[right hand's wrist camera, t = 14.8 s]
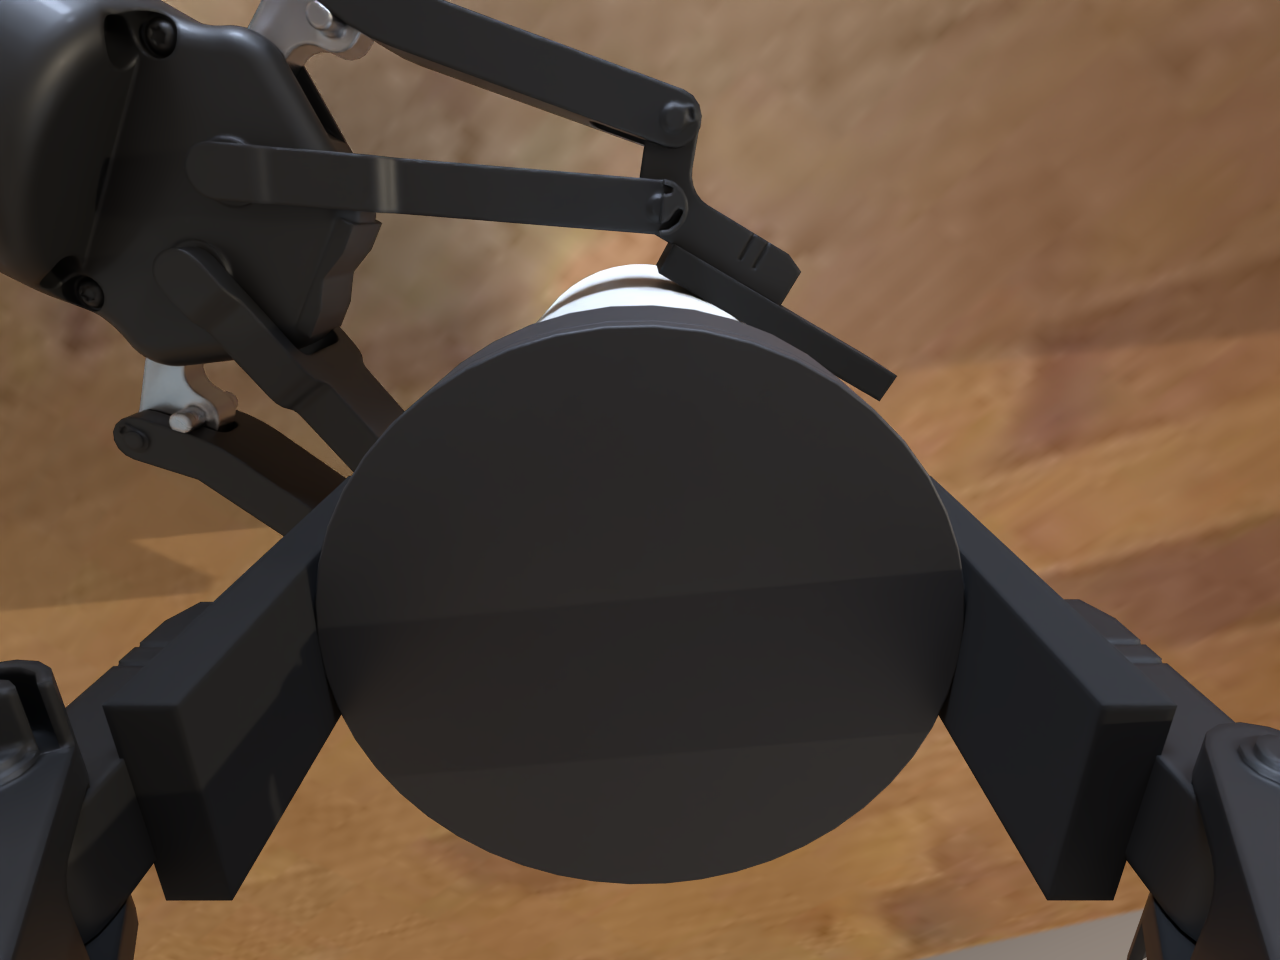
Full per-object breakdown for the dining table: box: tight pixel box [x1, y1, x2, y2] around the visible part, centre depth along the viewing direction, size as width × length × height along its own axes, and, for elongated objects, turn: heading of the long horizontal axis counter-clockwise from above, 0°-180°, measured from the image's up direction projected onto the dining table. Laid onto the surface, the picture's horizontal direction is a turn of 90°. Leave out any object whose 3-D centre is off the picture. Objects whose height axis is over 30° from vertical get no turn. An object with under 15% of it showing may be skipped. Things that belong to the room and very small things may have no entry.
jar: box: [537, 264, 744, 323], centre depth 18 cm, size 8×8×16 cm
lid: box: [315, 305, 965, 884], centre depth 11 cm, size 9×9×2 cm
